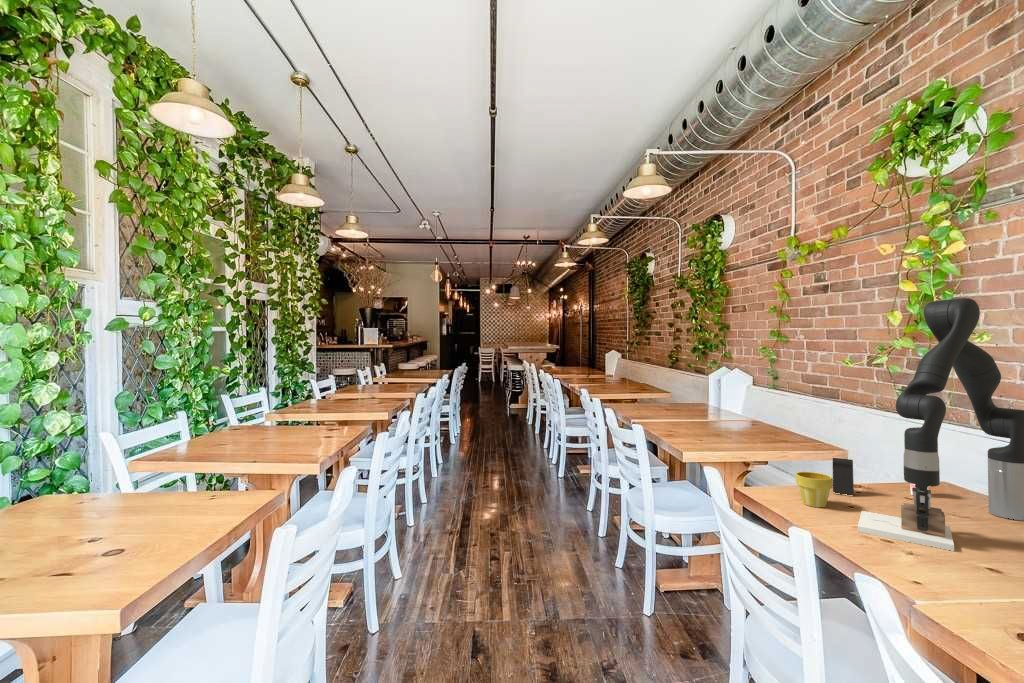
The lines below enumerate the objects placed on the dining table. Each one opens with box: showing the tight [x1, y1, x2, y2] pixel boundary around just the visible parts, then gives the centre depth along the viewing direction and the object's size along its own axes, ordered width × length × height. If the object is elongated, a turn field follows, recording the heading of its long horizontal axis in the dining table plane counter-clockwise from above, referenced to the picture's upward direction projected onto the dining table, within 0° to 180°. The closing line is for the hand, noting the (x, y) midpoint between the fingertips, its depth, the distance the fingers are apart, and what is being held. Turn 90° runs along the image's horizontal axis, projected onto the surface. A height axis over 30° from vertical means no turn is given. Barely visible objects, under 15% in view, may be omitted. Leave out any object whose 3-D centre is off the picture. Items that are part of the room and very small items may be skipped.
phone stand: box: [832, 457, 855, 496], centre depth 168 cm, size 9×6×12 cm, turn 146°
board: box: [857, 510, 955, 552], centre depth 132 cm, size 20×16×2 cm
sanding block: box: [900, 502, 946, 537], centre depth 129 cm, size 9×6×6 cm, turn 50°
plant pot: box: [795, 471, 833, 508], centre depth 155 cm, size 10×10×10 cm
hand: (922, 526), depth 129 cm, fingers closed on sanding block, 5 cm apart
